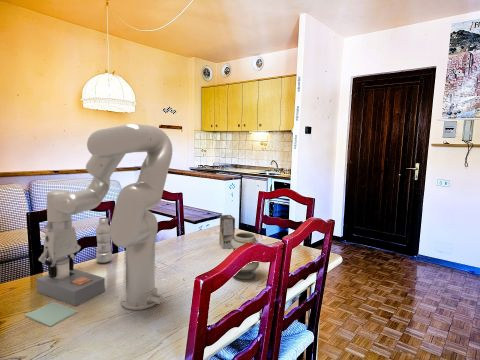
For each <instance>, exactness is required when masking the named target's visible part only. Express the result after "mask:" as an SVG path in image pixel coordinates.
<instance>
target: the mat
mask: <svg viewBox="0 0 480 360" xmlns="http://www.w3.org/2000/svg"><path fill="white" fill-rule="evenodd" d="M78 313H79V312H78V310H76V309H74V308H71V307H69V306H65V305H62V304H60V303H57V302H55V301H52V302H50V303H47V304H46V305H43V306H41V307H38V308H36V309H35V310H31V312H27V313H26V314H24V316H25V317H26V318H29V320H30V319H31V320H33V321H35V322H37V323H39V324H42V325H45V327H46V326H47V327H48V328H52V327H54V326H55V325H57V324H59V323H61V322H63V321H65V320H66V319H68V318H71V316H73V315H75V314H78Z"/></svg>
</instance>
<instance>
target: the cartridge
mask: <svg viewBox="0 0 480 360" xmlns="http://www.w3.org/2000/svg"><path fill="white" fill-rule="evenodd" d="M54 266H56V273H57V276H56V277H54V279H56V280H62V279H64V278H67V277H69V276H70V275H69V258H68V257H67V256H65V257H62V258H59V259H56V262H55V265H54Z"/></svg>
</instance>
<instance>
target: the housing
mask: <svg viewBox="0 0 480 360" xmlns="http://www.w3.org/2000/svg"><path fill="white" fill-rule="evenodd" d="M69 275H70V276H69V277H67V278H64V279H62V280H56V279H54V277H52V276H49V273H46V274H44V275H42V276H38V277H37V278H35V280H36V282H35V283H36V292H37V293H39V294H42V295H45V296H47V297H50V298H52V299H55V300H57V301H60V302H63V303H66V304H68V305H70V306H74V307H77V306H79V305H80V304H82V303H84V302H86V301H88V300H90V299H92V298H94V297H96V296H98V295H100V294H102V293H104V292H105V291H106V290H105V288H106V285H105V284H106V281H105V280H106V278H105V277H103V276H100V275H96V274H93V273H89V272H86V271H84V270H83V271H82V270H80V269H76V268H74V267H73V270H72V271H71V270H69ZM79 277H87V279H90V280H91V281H90V282H88V283H86V284H84V285H81V286H78V285H75V284H72V281H74V280H76V279H77V278H79Z"/></svg>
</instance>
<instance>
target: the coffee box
mask: <svg viewBox="0 0 480 360" xmlns="http://www.w3.org/2000/svg"><path fill="white" fill-rule="evenodd" d="M235 227H236V218H235V217H234V216H233V215H232V214H221V215H220V216H219V239H218V240H219V241H218V242H219V245H220V247H221V248H222V249H223V250H226V249H233V248H232V247H231V241H232V240H233V239H234V238H235V234H236V233H235V232H236V230H235Z"/></svg>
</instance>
